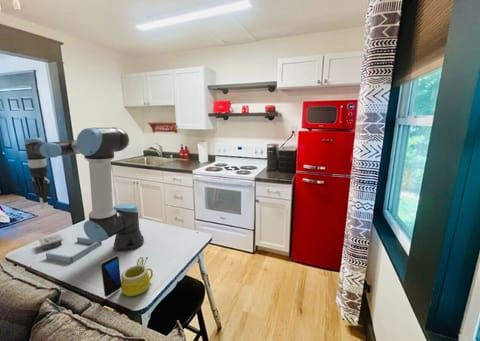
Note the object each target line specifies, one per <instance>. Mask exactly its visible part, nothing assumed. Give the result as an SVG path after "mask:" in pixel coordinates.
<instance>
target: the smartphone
mask: <svg viewBox="0 0 480 341" xmlns="http://www.w3.org/2000/svg"><path fill="white" fill-rule="evenodd" d="M100 269H101V277H102V284H103V286H102V287H103V292H104V293H103V294H104V297H106V298H107V297H109V296H111V295H112V294H114V293H116V292H117V291H119V290H121V280H122V278H121V271H120V270H121V269H120V260H119V256H118V255H113V256H112V257H110V258H108V259H107V260H104V261H102V262H101V263H100Z"/></svg>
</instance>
